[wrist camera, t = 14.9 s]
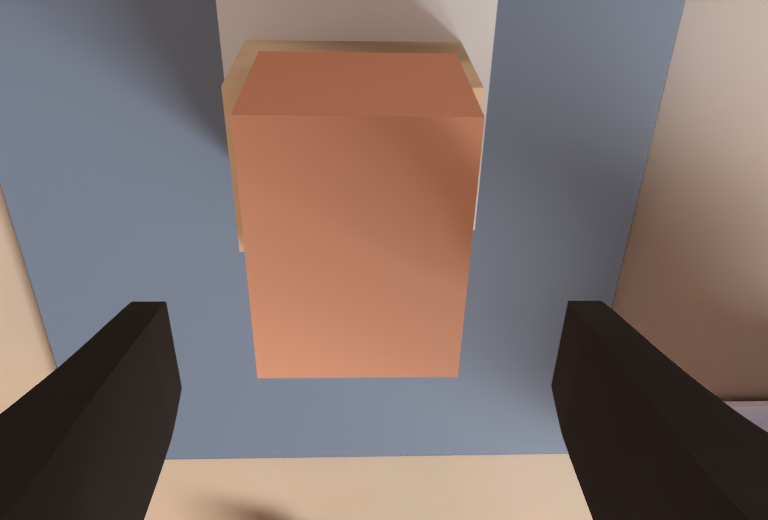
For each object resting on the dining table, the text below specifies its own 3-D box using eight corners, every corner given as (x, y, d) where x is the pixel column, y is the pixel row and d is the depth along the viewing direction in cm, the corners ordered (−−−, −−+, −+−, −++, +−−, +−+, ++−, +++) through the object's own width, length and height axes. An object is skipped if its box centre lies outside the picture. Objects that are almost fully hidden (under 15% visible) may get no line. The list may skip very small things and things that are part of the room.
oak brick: (461, 42, 19) (483, 87, 16) (450, 184, 22) (468, 250, 18) (244, 40, 19) (220, 86, 16) (258, 184, 21) (239, 251, 18)
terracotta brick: (258, 51, 15) (230, 114, 12) (456, 53, 15) (484, 117, 12) (275, 277, 18) (257, 378, 15) (439, 277, 19) (457, 377, 15)
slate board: (686, -47, 19) (696, -43, 18) (572, 442, 29) (577, 455, 28) (-61, -57, 18) (-76, -53, 17) (90, 449, 28) (85, 462, 28)
